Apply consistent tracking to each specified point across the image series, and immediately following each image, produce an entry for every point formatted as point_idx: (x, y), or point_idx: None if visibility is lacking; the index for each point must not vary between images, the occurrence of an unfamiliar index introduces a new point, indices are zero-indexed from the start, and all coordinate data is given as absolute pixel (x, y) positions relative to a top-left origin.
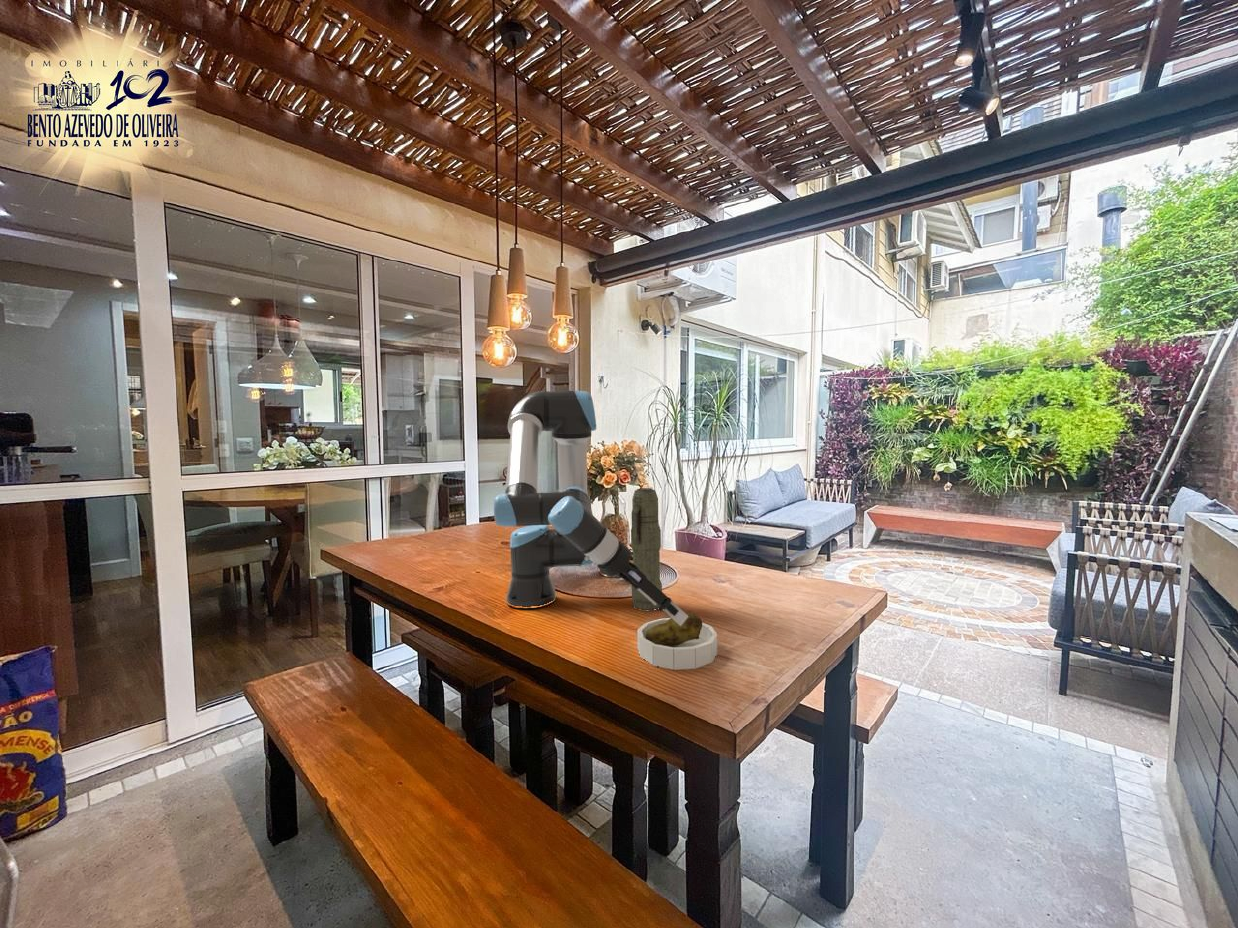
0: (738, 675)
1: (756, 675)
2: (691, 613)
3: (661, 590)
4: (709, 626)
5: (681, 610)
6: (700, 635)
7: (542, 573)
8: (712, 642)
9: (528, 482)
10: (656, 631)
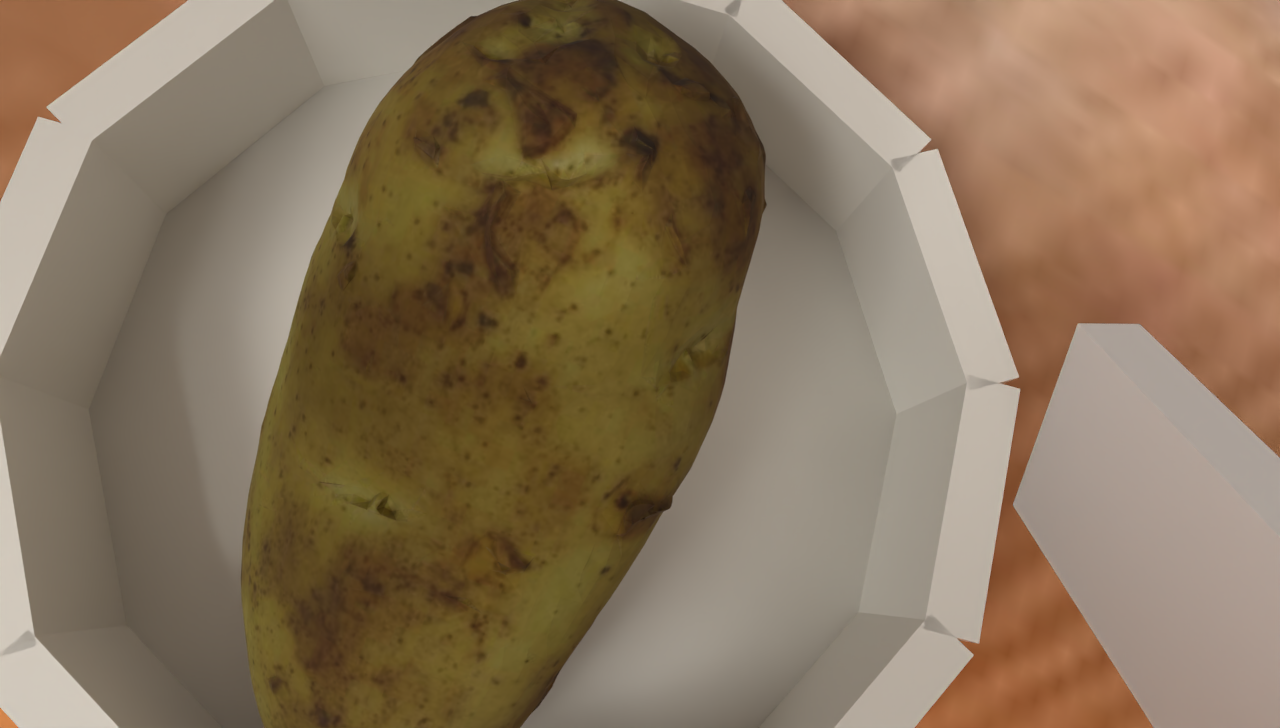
0: (1130, 150)
1: (1164, 27)
2: (568, 70)
3: None
4: None
5: (1263, 456)
6: (397, 58)
7: None
8: (905, 125)
9: None
10: (506, 701)
